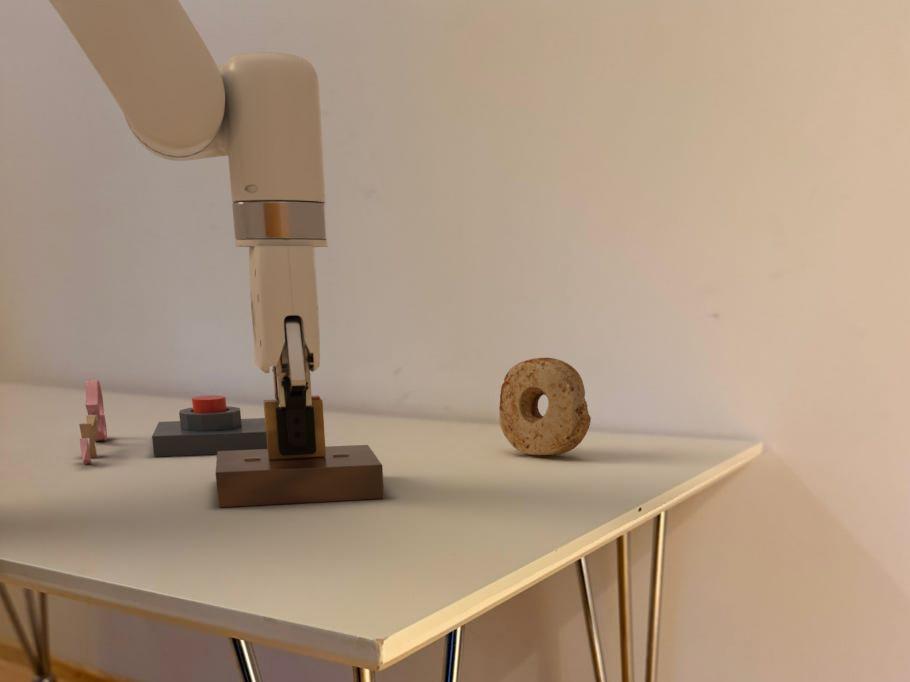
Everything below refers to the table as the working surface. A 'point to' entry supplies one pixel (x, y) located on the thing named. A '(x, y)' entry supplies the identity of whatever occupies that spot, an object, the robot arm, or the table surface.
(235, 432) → the confirm box
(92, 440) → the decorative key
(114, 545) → the table surface
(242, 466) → the plate
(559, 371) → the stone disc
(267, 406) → the thumbturn
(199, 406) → the button
